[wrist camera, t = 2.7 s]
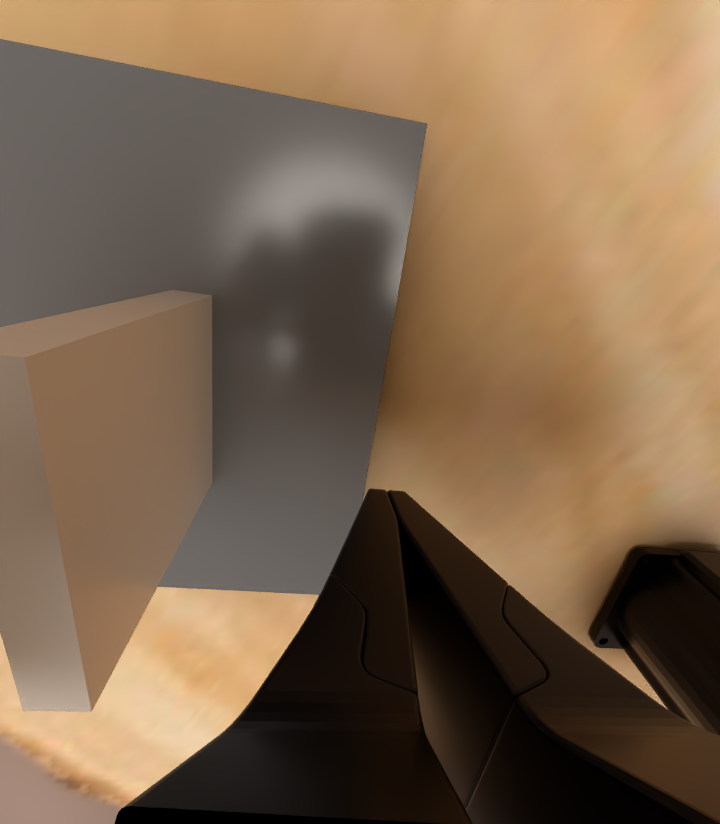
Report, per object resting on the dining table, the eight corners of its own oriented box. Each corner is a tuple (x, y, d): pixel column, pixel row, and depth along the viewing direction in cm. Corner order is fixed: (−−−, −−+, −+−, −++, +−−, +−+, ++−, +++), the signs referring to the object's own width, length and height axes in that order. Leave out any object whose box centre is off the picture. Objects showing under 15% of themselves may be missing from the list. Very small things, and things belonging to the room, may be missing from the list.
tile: (212, 482, 15) (91, 712, 7) (174, 479, 15) (12, 710, 7) (212, 295, 12) (25, 357, 5) (165, 288, 12) (-104, 342, 5)
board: (345, 579, 18) (346, 595, 17) (-22, 558, 16) (-43, 576, 16) (419, 134, 12) (427, 123, 11) (-181, 16, 10) (-233, -7, 9)
